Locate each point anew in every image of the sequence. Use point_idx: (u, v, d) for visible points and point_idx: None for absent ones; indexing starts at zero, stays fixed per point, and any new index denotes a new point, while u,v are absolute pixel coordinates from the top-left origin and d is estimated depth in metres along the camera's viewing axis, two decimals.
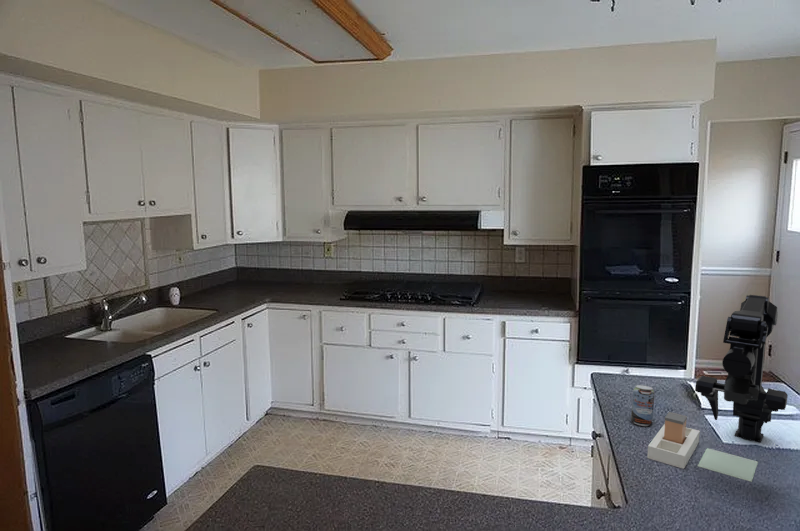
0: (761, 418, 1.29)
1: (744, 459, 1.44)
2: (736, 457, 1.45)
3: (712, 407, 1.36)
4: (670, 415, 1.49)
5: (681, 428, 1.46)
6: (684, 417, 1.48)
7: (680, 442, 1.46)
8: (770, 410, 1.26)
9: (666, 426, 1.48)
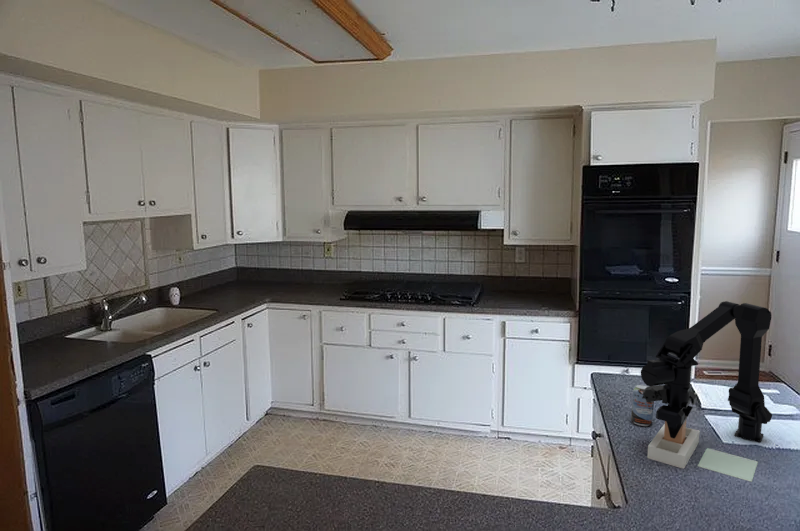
0: None
1: (744, 459, 1.44)
2: (736, 457, 1.45)
3: None
4: None
5: (681, 428, 1.46)
6: None
7: (680, 442, 1.46)
8: None
9: (666, 426, 1.48)
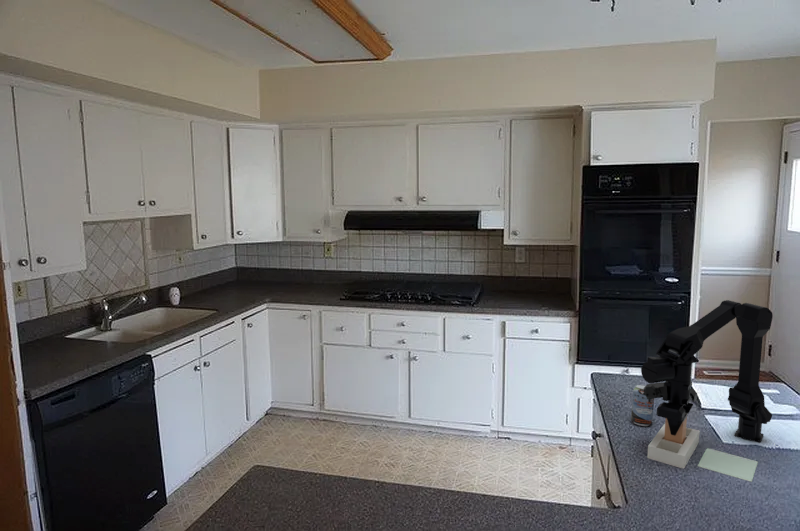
0: None
1: (744, 459, 1.44)
2: (736, 457, 1.45)
3: None
4: None
5: (682, 425, 1.46)
6: None
7: (681, 439, 1.46)
8: None
9: (667, 423, 1.48)
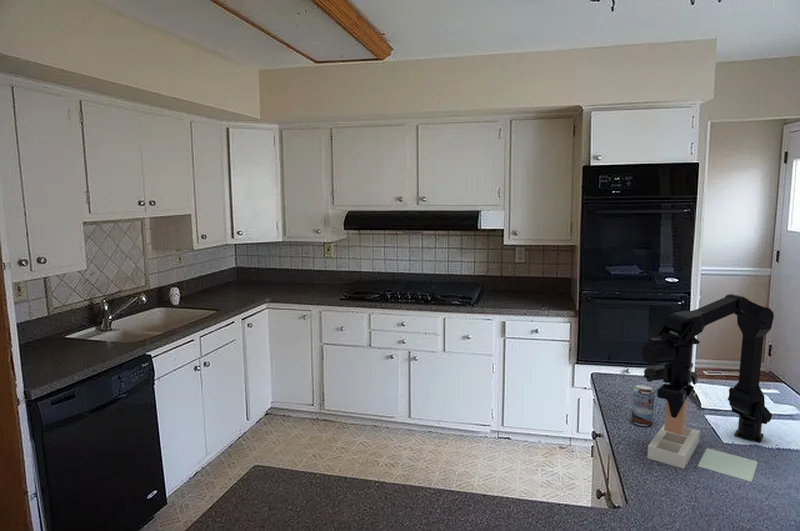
0: None
1: (744, 459, 1.44)
2: (736, 457, 1.45)
3: None
4: None
5: (682, 407, 1.45)
6: None
7: (681, 421, 1.45)
8: None
9: (667, 405, 1.47)
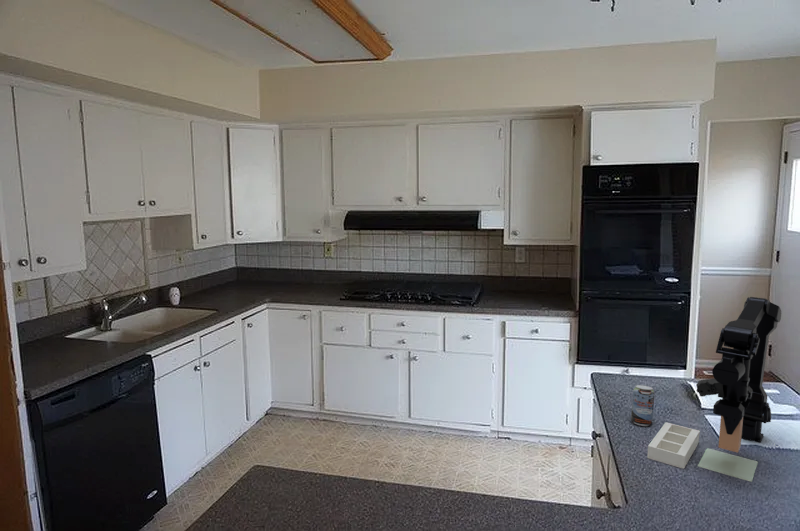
0: None
1: (744, 459, 1.44)
2: (736, 457, 1.45)
3: None
4: None
5: (739, 424, 1.37)
6: None
7: (738, 438, 1.38)
8: None
9: (722, 421, 1.40)
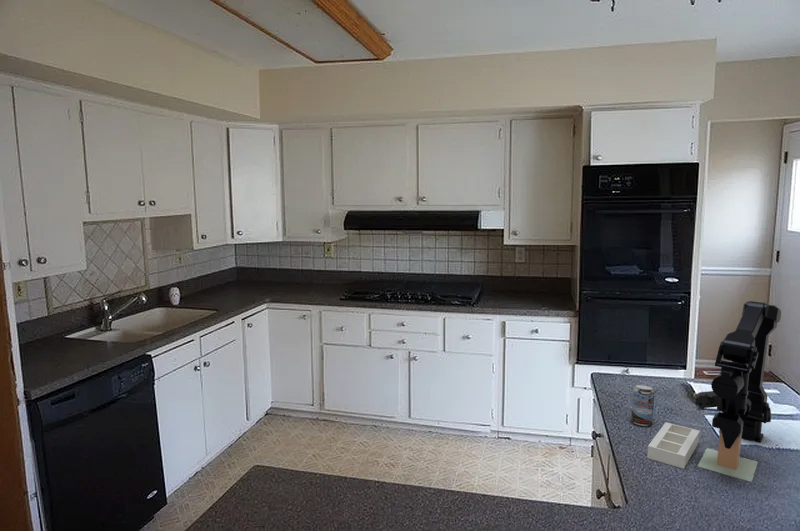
0: None
1: (744, 459, 1.44)
2: None
3: None
4: None
5: (737, 441, 1.38)
6: None
7: (736, 456, 1.39)
8: None
9: (721, 439, 1.40)
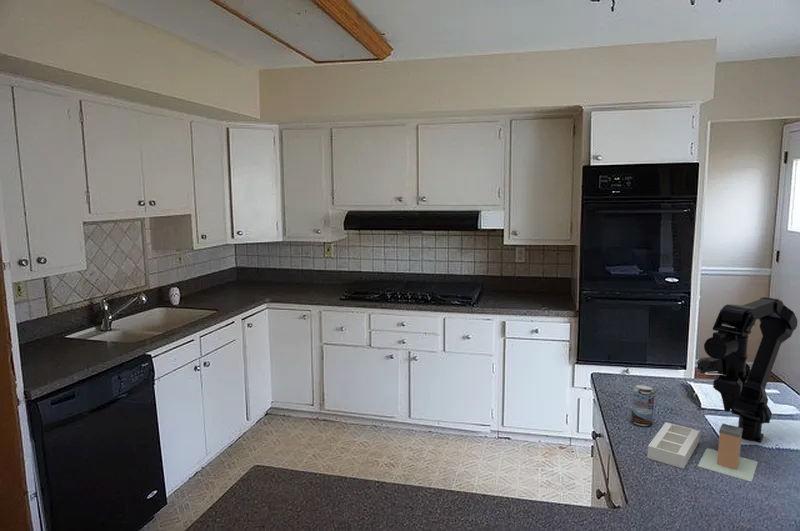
0: None
1: (744, 459, 1.44)
2: None
3: None
4: (725, 427, 1.41)
5: (737, 441, 1.38)
6: (739, 429, 1.40)
7: (736, 456, 1.39)
8: None
9: (721, 439, 1.40)
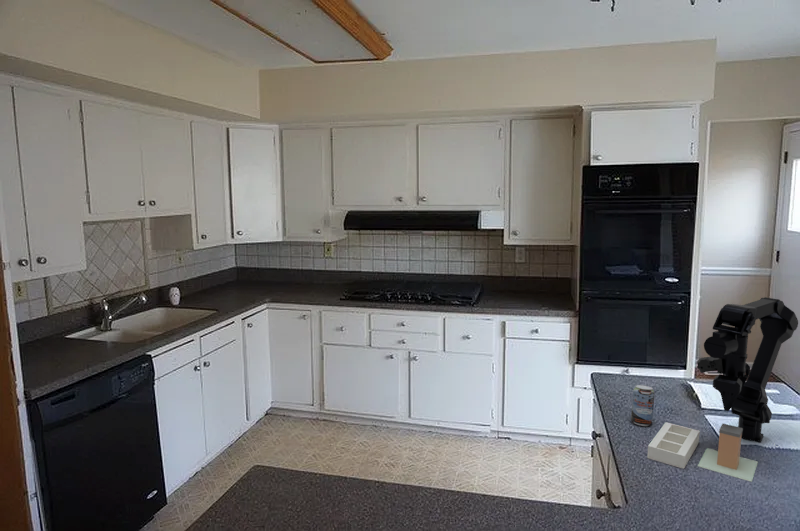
0: None
1: (744, 459, 1.44)
2: None
3: None
4: (725, 427, 1.41)
5: (737, 441, 1.38)
6: (739, 429, 1.40)
7: (736, 456, 1.39)
8: None
9: (721, 439, 1.40)
